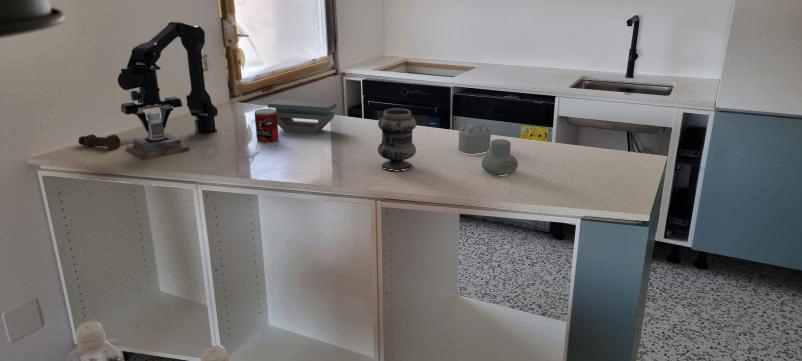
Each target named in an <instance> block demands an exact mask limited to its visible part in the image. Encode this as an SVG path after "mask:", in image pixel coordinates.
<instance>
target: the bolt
mask: <svg viewBox="0 0 802 361" xmlns="http://www.w3.org/2000/svg"><path fill="white" fill-rule="evenodd" d="M77 141H78V142H77V143H79V145H82V146H86V148H91V149H92V148H95V147H107V148H108V150H109V151H115V150H118V149H119V148H120V147H121V138H120V137H119V136H118V135H117V134H114V133H113V134H110V135H108V136H107V137H104V136H103V137H102V136H96V135H95V134H93V133H92V134H87V135H84V136H83V135H82V136H80V137H78V140H77Z"/></svg>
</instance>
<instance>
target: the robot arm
mask: <svg viewBox="0 0 802 361" xmlns="http://www.w3.org/2000/svg"><path fill="white" fill-rule="evenodd" d="M177 38H180V42H181V44H182V46H183V48H184V49H185V50H186V53H187V54H186V55H187V63H188V71H189V79H190V80H189V81H190V88H191V89H190V92H189V94H188V95H185V99H186V107H187V108H188V111H189V113H190V115H191V117H195V120H194V125H195V126H194V127H195V130H194V131H195V132H197V133H198V134H201V135H204V134H209V133H210V134H211V133H216V132H218V129H217V128H216V120H215V117H217V116H218V113H219V110H218V108H217V107H216V106H215V105H214V104H213V102H212V98H211V96H210V94H209V93H208V91H207V90H206V84H205V73H204V65H203V54H202V51H203V48H204V46H205V44H206V33H205V30H204V29H203V28H202V27H201V26H199V25H198V26H197V25H190V24H186V23H184V22H182V21H171V22H168V24H167V25H166V26H165V27H164V28H163V29H161V30H160V31H159V32H158V33H157V34H156V35H155V36H154V37H152V38H151V39H150V40H148V41H146V42H143V43H140V44H137V45H136V46H134V47H133V48H132V50H131V54H130V56H129V60H128V62H127V65H126V68H125V67H123V68H121V69H120V73H119V74H118V76H117V84H118V86H119V87H120V88H121V89H122V90H124V91H129V90H131V91H130V98H131V101H132V102H125V103H124V102H123V103H122V104H121V105H120V110H121V113H123V114H124V115H135V116H137V118H138V119H139V120H140V123H141V124H142V126H143V128H144V129H145V131H146V132H148V124H147V120H148V118H147V113H146V112H144V110H147V109H153V108H159V110H160V114H161V115H160V117H161V118H160V119H162V121H163V127H164V130H165V129H166V126H167V122H168V119H169V117H170V114H171V113H172V111H174V109H175V108H181V107H183V102H182V99H180V98H179V97H177V96H169V97H165V98H164V100H162V99H161V97H160V96H161V95H160V92H161V89H160V87H159V81H158V74H157V71H158V70H161V67H160V66H159V65H157V62H158V61H159V60H160V58H161V55H162V52H163V51H164V50H165V48H167V47H168V46H169V45H170V44H171V43H172V42H174V41H175V39H177ZM133 89H138V90H139V91H138V90H133ZM135 101H137V103H138V104H137V103H135Z"/></svg>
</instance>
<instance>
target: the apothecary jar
mask: <svg viewBox="0 0 802 361" xmlns="http://www.w3.org/2000/svg"><path fill="white" fill-rule="evenodd" d="M377 126H378V129H380V130H381V142H380V144H379V145H378V147H377V152H378V155H380V156H381V157H382V158H383V159H386V160H387V161H385V162H383V163H382V164H381V166H382V167H383V168H386V169H393V170H401V169H407V168H410V167H412V166H413V164H412V163H410V162H409V161H407V160H408V159H409V160H410V159H411V158H412V157H414V155H415V154H416V153H417V147H416V145H415V144H414V143H413V131H414V129H415V128H416V127H417V121H416V119H415V118H414V117H412V111H411V110H409V109H407V108H397V107H394V108H388V109H387V108H386V109H385V110H383V115H382V116H381V117H380V119H379V120H378V121H377ZM382 167H381V168H382ZM383 168H382V169H383ZM412 168H413V167H412Z"/></svg>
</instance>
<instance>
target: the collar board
mask: <svg viewBox="0 0 802 361" xmlns="http://www.w3.org/2000/svg"><path fill="white" fill-rule="evenodd" d="M164 134H165V138H163V139H160V140H150V139H149V137H148V136H142V137H136V138H132V140H133V144H129V145H126V149H127V150H128V151H129V152H131V153H132V154H134V155H135V156H136V157H138V158H139V159H141V160H145V159H146V160H147V159H151V158H156V157H162V156H166V155H173V154H177V153H183V152H188V151H190V146H188V145H186V144H185V143H183V142H181V139H179V138H178V137H176V136H174V135H172V134H171V133H168V132H167V133H165V132H164Z"/></svg>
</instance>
